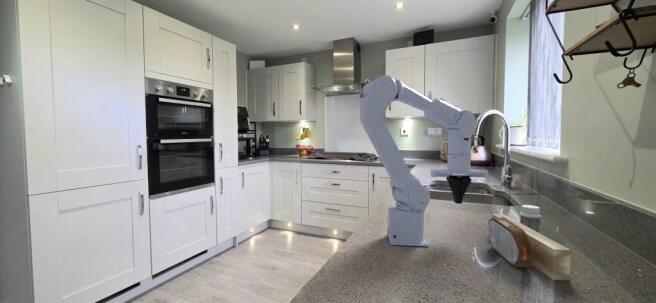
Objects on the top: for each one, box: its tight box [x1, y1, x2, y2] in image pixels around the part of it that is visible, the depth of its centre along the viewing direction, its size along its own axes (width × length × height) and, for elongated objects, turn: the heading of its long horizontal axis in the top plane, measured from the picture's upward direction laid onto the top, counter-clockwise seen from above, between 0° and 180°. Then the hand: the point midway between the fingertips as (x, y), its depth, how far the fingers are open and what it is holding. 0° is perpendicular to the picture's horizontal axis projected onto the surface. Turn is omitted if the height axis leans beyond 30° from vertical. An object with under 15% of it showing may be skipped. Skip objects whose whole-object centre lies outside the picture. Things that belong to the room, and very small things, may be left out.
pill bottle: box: [519, 204, 542, 234], centre depth 74 cm, size 5×5×8 cm
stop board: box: [491, 213, 572, 281], centre depth 63 cm, size 3×24×6 cm, turn 173°
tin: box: [488, 217, 533, 269], centre depth 61 cm, size 15×3×8 cm, turn 170°
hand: (457, 202), depth 74 cm, fingers closed
